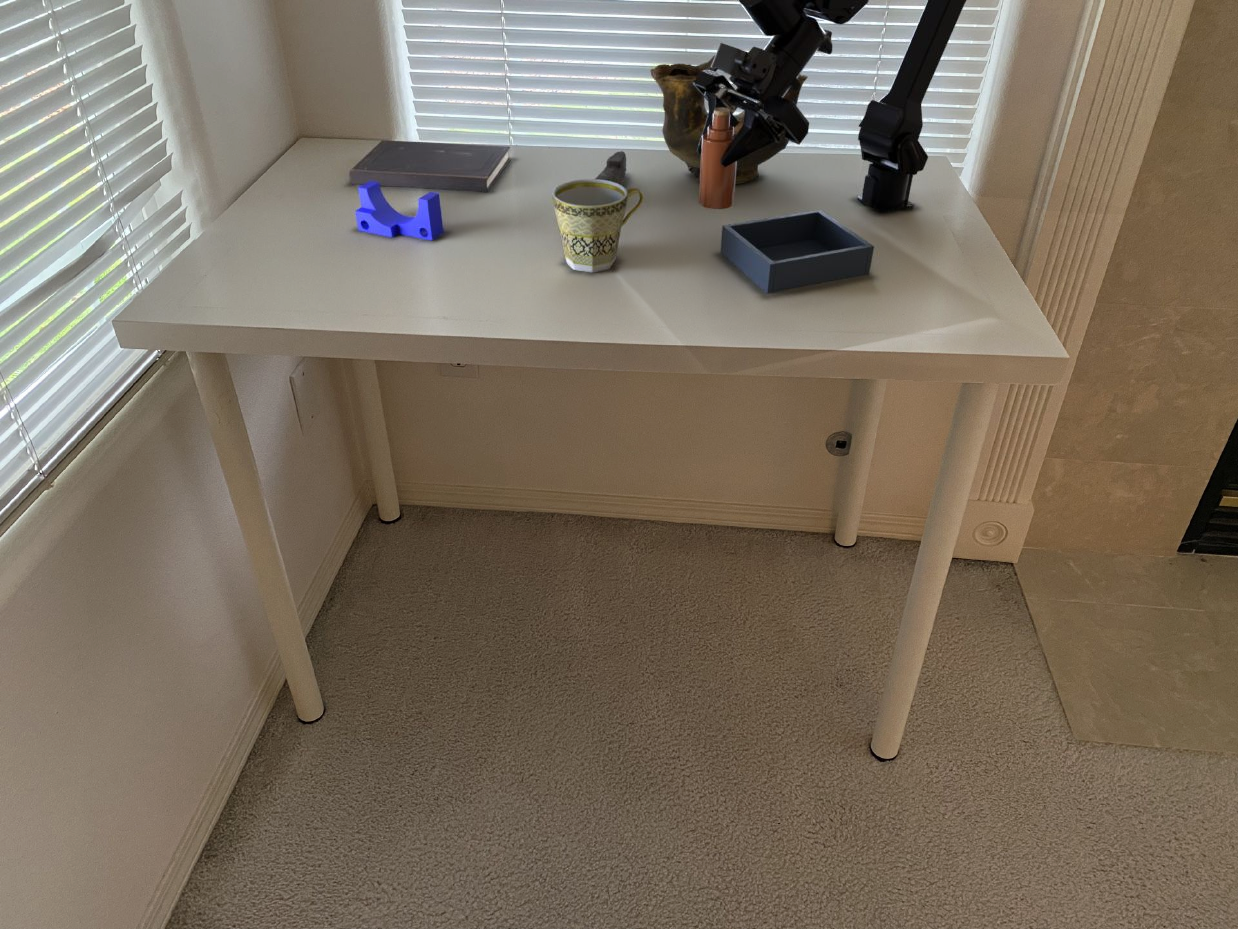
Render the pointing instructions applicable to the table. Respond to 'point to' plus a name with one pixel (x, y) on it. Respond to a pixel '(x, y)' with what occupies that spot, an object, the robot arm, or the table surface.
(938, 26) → the robot arm
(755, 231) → the bin
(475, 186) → the hardcover book
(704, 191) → the bottle
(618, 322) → the table surface
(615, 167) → the hand tool
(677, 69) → the pottery vessel
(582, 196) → the ceramic cup
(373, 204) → the blue mounting bracket
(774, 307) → the table surface
